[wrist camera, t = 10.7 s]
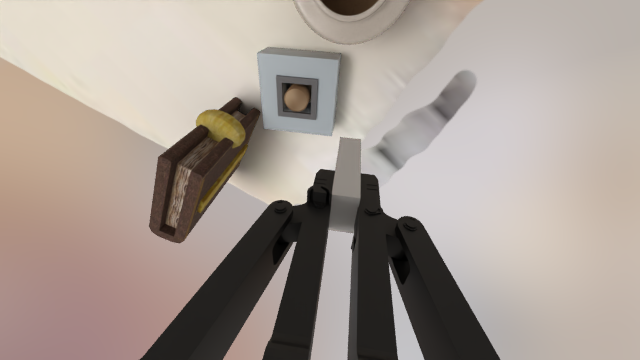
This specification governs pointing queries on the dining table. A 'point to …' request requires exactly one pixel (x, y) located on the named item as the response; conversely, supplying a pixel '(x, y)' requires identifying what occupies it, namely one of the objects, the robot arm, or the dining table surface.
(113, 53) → the dining table surface
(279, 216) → the robot arm
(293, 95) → the dowel
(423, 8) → the dining table surface
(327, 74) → the socket block
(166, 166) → the book
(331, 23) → the vase
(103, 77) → the dining table surface
